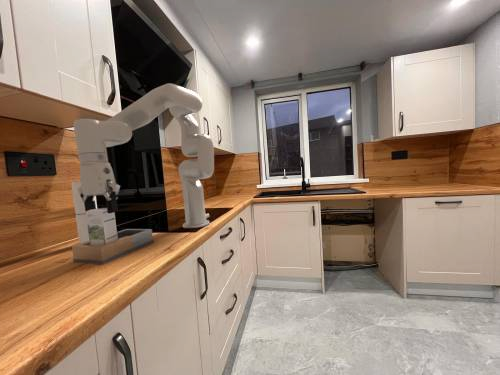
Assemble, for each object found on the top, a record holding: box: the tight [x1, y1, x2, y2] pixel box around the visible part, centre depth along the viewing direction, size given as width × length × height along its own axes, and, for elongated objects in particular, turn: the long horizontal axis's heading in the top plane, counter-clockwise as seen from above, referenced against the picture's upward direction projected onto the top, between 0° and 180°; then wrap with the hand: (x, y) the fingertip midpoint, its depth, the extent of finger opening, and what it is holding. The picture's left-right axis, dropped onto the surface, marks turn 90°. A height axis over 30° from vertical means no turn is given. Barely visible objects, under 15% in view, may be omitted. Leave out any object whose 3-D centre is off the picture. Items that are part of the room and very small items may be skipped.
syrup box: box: [85, 207, 118, 246], centre depth 72 cm, size 6×6×14 cm
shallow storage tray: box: [71, 228, 154, 265], centre depth 76 cm, size 20×13×5 cm, turn 161°
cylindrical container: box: [71, 181, 98, 244], centre depth 89 cm, size 7×7×25 cm
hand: (101, 212), depth 72 cm, fingers open, 9 cm apart
